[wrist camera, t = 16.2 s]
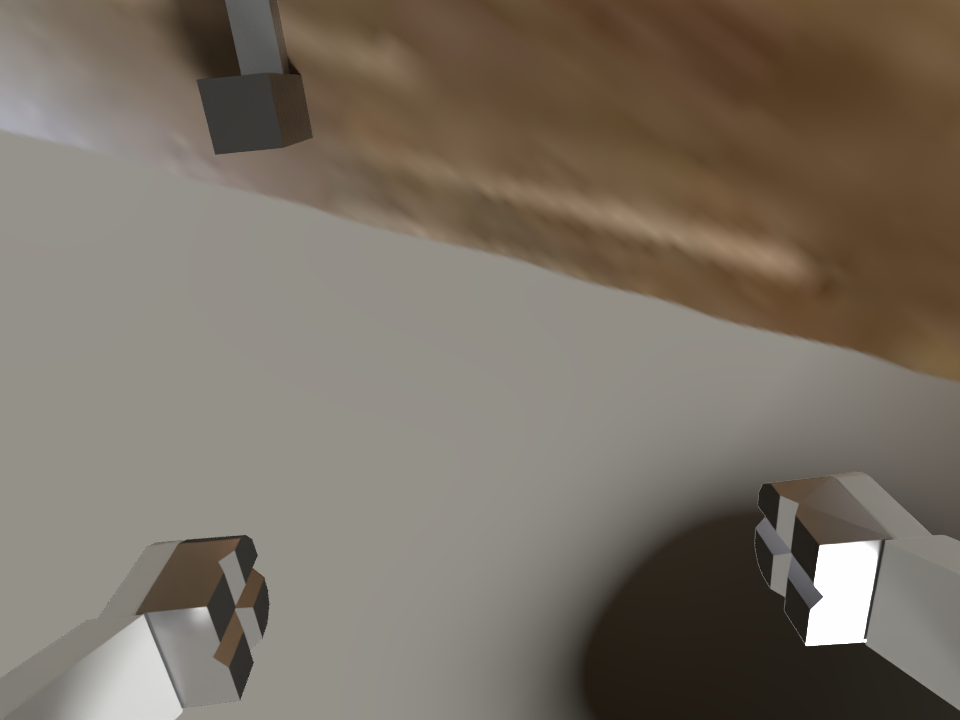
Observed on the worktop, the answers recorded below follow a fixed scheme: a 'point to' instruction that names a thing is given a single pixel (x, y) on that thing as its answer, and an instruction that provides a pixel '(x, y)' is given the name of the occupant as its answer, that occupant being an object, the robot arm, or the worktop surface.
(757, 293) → the worktop surface
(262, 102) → the hook tool
